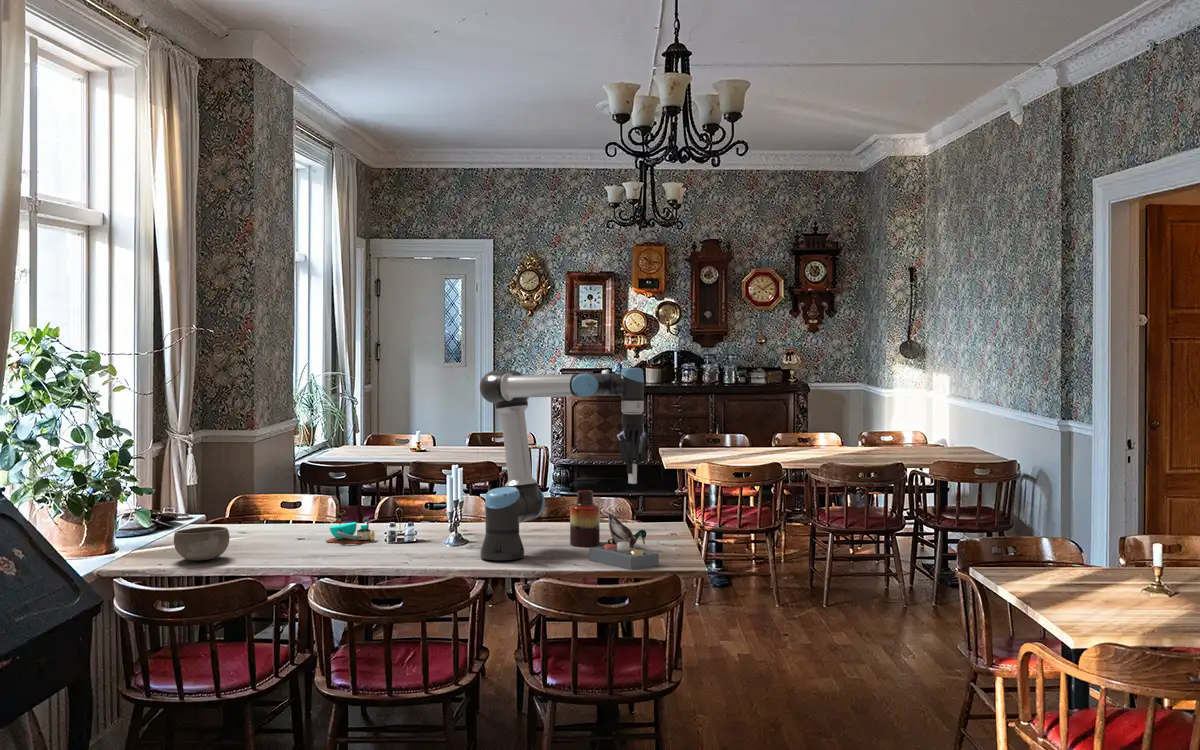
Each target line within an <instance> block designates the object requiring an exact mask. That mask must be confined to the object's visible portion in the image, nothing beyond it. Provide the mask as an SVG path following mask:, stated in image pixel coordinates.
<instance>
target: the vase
mask: <svg viewBox="0 0 1200 750" xmlns="http://www.w3.org/2000/svg"><path fill="white" fill-rule="evenodd" d="M600 509H601V508H600V506H599V505H598V504H596V503H594V495H593V490H588V489H587V490H586V489H583V490H582V489H581V490H578V491H577V494H576V503H574V504H573V505H571V506H570V507H569V513H570V514H569V516H570V517H569V523H570V524H569V525H570V527H569V531H570V532H569V541H570V546H571V545H572V547H575V548H576V547H577V548H595V547H599V546H600V543H601V542H600V538H601V535H600V532H601V531H600V529H601V528H600V523H601V522H600V520H601V519H600V518H601V517H600V515H601V513H600V512H601V511H600Z"/></svg>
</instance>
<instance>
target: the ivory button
mask: <svg viewBox="0 0 1200 750" xmlns="http://www.w3.org/2000/svg"><path fill="white" fill-rule="evenodd" d="M616 543H617V544H616V545H617V552H621V553H625V552H630V543H629V542H616Z"/></svg>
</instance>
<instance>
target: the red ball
mask: <svg viewBox="0 0 1200 750" xmlns="http://www.w3.org/2000/svg"><path fill="white" fill-rule="evenodd" d="M616 545H617V544H616ZM616 545H615V544H612V543H611V544H608V543H605V544H604V545H603V546H604V549H607V550H613V549H616Z"/></svg>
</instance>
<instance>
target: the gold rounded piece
mask: <svg viewBox="0 0 1200 750" xmlns="http://www.w3.org/2000/svg"><path fill="white" fill-rule="evenodd" d="M643 550H644V549H640V550H631V555H635V556H638V555H643Z"/></svg>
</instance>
